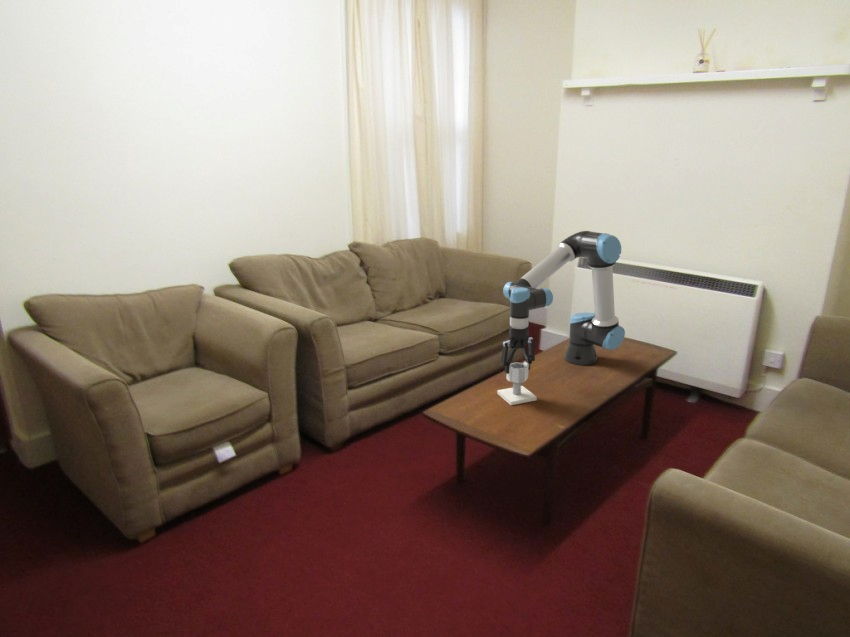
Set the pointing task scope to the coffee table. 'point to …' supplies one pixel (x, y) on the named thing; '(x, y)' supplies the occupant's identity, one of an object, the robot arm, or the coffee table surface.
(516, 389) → the post
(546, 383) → the coffee table surface
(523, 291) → the robot arm
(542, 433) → the coffee table surface
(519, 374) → the tube
